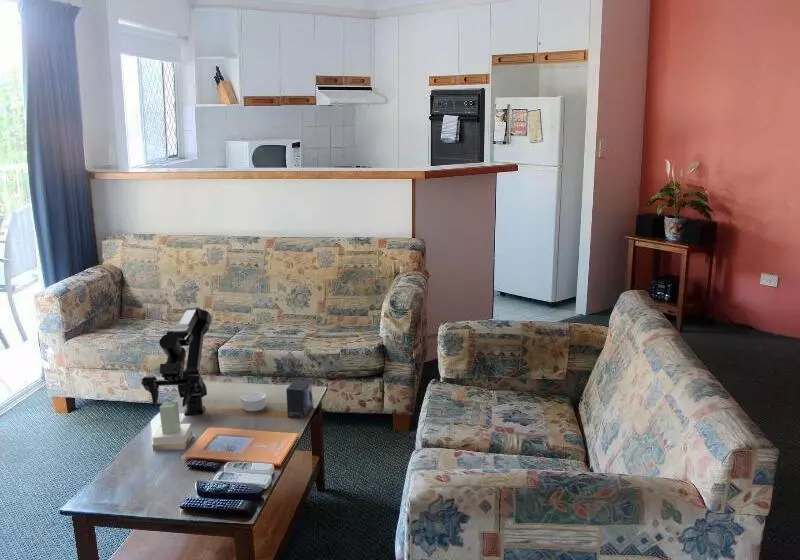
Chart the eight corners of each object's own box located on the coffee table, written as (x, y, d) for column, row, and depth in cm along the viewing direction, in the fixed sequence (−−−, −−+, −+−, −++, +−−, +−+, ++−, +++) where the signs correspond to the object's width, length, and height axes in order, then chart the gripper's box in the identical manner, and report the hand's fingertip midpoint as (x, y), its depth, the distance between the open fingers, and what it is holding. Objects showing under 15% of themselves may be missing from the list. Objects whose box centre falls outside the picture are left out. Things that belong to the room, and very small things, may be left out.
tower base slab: (162, 439, 248) (161, 432, 248) (192, 438, 248) (192, 431, 248) (153, 451, 239) (152, 444, 238) (184, 450, 239) (183, 443, 238)
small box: (304, 418, 261) (302, 389, 258) (286, 417, 262) (285, 389, 260) (314, 407, 271) (312, 379, 269) (297, 406, 272) (295, 378, 270)
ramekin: (271, 405, 274) (270, 394, 273) (254, 414, 266) (253, 402, 265) (253, 401, 278) (252, 390, 277) (236, 409, 271) (235, 398, 270)
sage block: (166, 428, 244) (163, 402, 243) (180, 427, 244) (177, 401, 242) (162, 433, 240) (159, 407, 238) (176, 433, 240) (173, 406, 238)
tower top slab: (160, 432, 248) (159, 425, 247) (191, 430, 248) (190, 423, 248) (153, 445, 238) (152, 437, 237) (185, 443, 239) (184, 435, 238)
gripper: (140, 352, 242) (132, 397, 234) (197, 351, 242) (191, 395, 234) (150, 368, 252) (142, 411, 243) (205, 366, 252) (200, 409, 243)
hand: (169, 406), depth 241 cm, fingers open, 9 cm apart
